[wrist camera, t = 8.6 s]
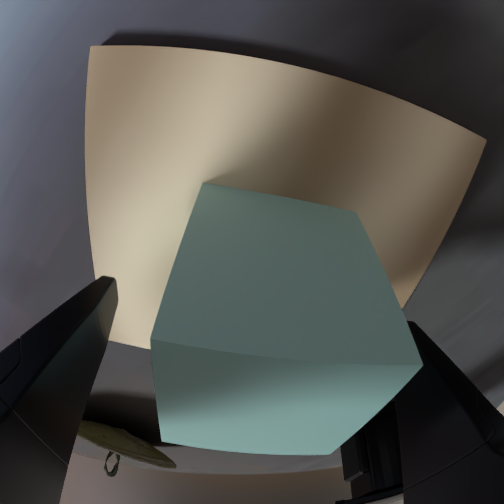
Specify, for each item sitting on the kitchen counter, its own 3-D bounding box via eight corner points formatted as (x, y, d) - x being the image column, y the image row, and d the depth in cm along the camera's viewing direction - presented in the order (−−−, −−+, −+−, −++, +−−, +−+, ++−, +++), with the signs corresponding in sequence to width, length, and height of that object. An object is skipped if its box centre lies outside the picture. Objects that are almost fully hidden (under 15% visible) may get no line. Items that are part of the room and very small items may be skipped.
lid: (199, 428, 22) (193, 486, 18) (160, 453, 27) (153, 496, 23) (68, 378, 19) (47, 437, 15) (62, 416, 24) (48, 459, 20)
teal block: (355, 211, 10) (423, 365, 5) (311, 316, 13) (329, 454, 8) (202, 182, 10) (150, 338, 5) (190, 298, 13) (161, 441, 8)
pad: (477, 134, 9) (487, 140, 8) (354, 365, 16) (356, 373, 16) (99, 45, 7) (90, 46, 7) (110, 330, 15) (107, 339, 14)
